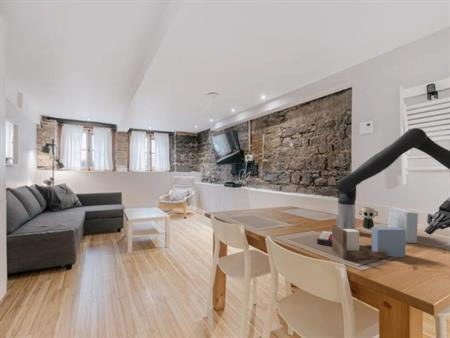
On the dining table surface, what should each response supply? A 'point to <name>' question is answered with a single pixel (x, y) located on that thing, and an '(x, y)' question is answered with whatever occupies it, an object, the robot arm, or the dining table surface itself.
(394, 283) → the dining table surface
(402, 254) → the loose book
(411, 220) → the skincare box
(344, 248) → the book rack
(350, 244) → the shelved book
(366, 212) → the character mug
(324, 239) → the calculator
